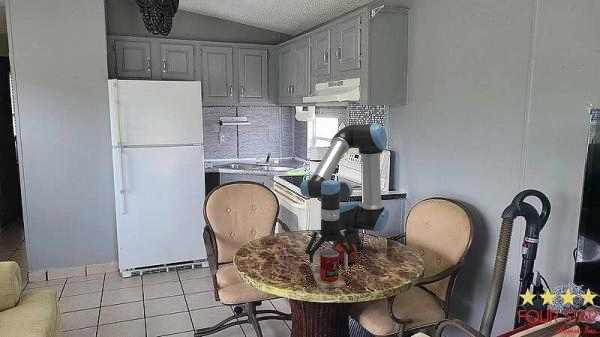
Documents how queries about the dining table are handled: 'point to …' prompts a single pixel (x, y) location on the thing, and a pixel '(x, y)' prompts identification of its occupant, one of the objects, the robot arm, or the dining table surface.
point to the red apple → (341, 251)
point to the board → (325, 284)
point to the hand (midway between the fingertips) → (329, 269)
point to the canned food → (329, 265)
